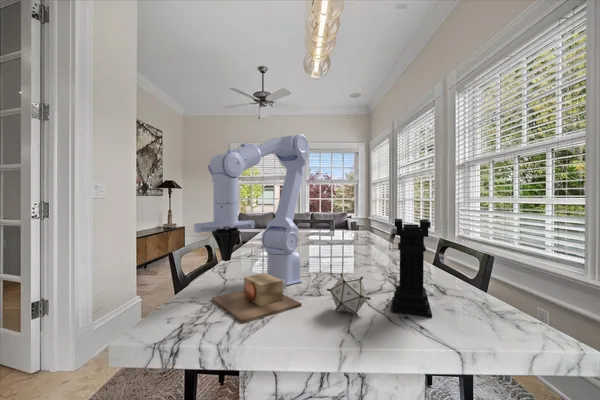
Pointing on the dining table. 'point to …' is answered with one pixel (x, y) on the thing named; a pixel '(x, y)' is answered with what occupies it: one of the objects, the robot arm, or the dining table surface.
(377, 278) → the dining table surface
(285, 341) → the dining table surface
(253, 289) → the pin
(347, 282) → the game die
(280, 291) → the block
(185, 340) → the dining table surface
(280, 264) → the robot arm
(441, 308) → the dining table surface
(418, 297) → the chess piece
